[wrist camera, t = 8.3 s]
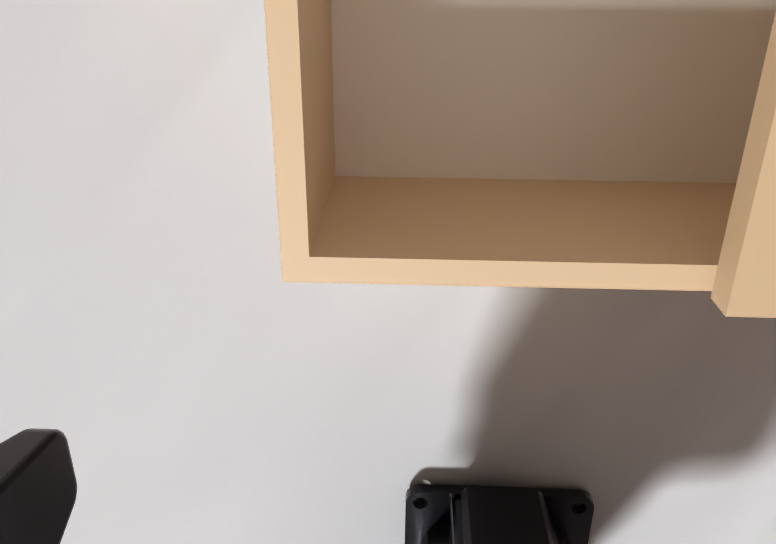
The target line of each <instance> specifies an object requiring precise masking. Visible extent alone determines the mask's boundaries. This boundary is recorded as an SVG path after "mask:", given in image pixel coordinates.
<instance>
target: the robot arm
mask: <svg viewBox="0 0 776 544" xmlns="http://www.w3.org/2000/svg"><path fill="white" fill-rule="evenodd" d="M76 494H77V482H76V477H75V473H74V468H73V464H72V459H71V455H70V451H69V446H68V442H67V439H66V436H65V435H64V433H63V432H61V431H59V430H57V429H26V430H23V431H21V432H19V433H18V434H16V435H14V436H12V437H11V438H9V439H7V440H6V441H4V442H2V443H0V544H60V542H61V539H62V537H63V534H64V531H65V528H66V526H67V523H68V520H69V518H70V515H71V512H72V509H73V507H74V504H75V500H76ZM416 498H424V499H425V500H422V501H419V500H416ZM576 503H582V504H581V505H577V506H576V505H574V504H576ZM593 511H594V505H593V501H592V498H591V496H590V494H589V493H588V492H587V491H585V490H581V489H561V488H528V487H494V486H461V485H428V484H419V485H414V486H412V487H410V488H409V489H408V490H407V493H406V518H405V544H588V540H589V534H590V528H591V522H592V516H593Z"/></svg>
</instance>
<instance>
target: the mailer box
mask: <svg viewBox="0 0 776 544" xmlns="http://www.w3.org/2000/svg"><path fill="white" fill-rule="evenodd" d="M264 9H265V24H266V39H267V55H268V70H269V85H270V101H271V116H272V131H273V147H274V162H275V177H276V193H277V208H278V223H279V239H280V254H281V269H282V282H311V283H358V284H404V285H450V286H496V287H542V288H588V289H635V290H681V291H712V289H713V284H714V280H715V276H716V271H717V267H718V262H719V258H720V254H721V249H722V245H723V240H724V236H725V232H726V227H727V223H728V218H729V214H730V210H731V205H732V201H733V197H734V192H735V188H736V183H737V179H738V175H739V170H740V166H741V161H742V157H743V153H744V148H745V144H746V139H747V135H748V131H749V126H750V122H751V118H752V113H753V109H754V104H755V100H756V96H757V91H758V87H759V82H760V78H761V74H762V69H763V65H764V60H765V56H766V52H767V47H768V43H769V38H770V34H771V30H772V25H773V21H774V17H775V12H776V0H264Z"/></svg>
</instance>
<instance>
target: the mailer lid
mask: <svg viewBox="0 0 776 544" xmlns="http://www.w3.org/2000/svg"><path fill="white" fill-rule="evenodd" d="M711 299H712V300H713V302H714V303H715V304H716V305H717V307H718V308H719V309H720V310H721V312H722V313H723V314H724V316H725V317H759V318H776V12H775V17H774V21H773V25H772V30H771V34H770V38H769V43H768V47H767V52H766V56H765V60H764V65H763V69H762V74H761V78H760V82H759V87H758V91H757V96H756V100H755V104H754V109H753V113H752V118H751V122H750V126H749V131H748V135H747V139H746V144H745V148H744V153H743V157H742V161H741V166H740V170H739V175H738V179H737V183H736V188H735V192H734V197H733V201H732V205H731V210H730V214H729V218H728V223H727V227H726V232H725V236H724V240H723V245H722V249H721V254H720V258H719V262H718V267H717V271H716V276H715V280H714V284H713V289H712V293H711Z"/></svg>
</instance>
